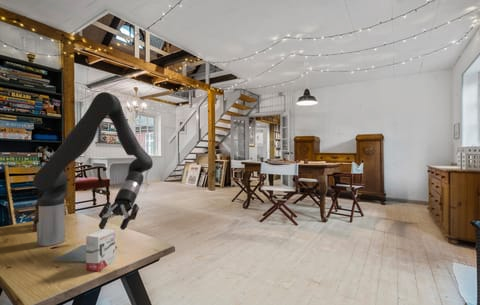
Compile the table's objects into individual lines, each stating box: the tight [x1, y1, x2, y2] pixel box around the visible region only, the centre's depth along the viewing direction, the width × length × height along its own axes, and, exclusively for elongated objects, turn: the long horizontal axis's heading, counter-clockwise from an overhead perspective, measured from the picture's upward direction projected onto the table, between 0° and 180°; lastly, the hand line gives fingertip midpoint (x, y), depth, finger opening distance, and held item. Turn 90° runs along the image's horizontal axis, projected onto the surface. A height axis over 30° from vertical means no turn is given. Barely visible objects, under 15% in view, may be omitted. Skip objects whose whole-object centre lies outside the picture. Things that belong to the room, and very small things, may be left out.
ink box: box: [85, 228, 116, 272], centre depth 85 cm, size 9×5×12 cm, turn 168°
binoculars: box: [32, 189, 45, 233], centre depth 130 cm, size 18×8×20 cm, turn 38°
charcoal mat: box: [52, 244, 118, 264], centre depth 94 cm, size 16×14×1 cm
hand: (111, 228), depth 91 cm, fingers open, 8 cm apart
